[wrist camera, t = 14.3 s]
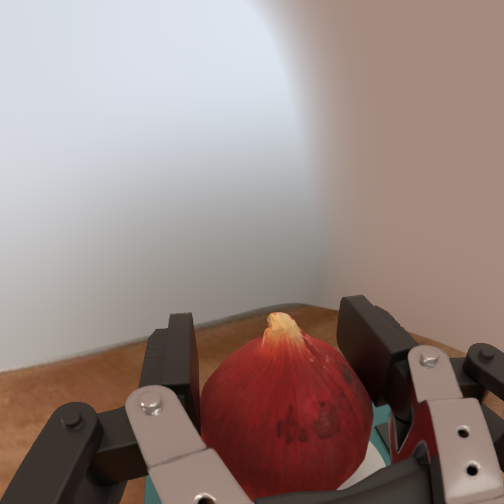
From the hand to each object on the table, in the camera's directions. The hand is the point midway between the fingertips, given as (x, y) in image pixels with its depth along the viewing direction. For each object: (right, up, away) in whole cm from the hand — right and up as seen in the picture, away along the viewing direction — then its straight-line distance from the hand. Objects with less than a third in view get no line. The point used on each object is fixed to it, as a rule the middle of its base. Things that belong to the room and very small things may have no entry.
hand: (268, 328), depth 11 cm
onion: (+1, -7, 0) cm, 7 cm away
